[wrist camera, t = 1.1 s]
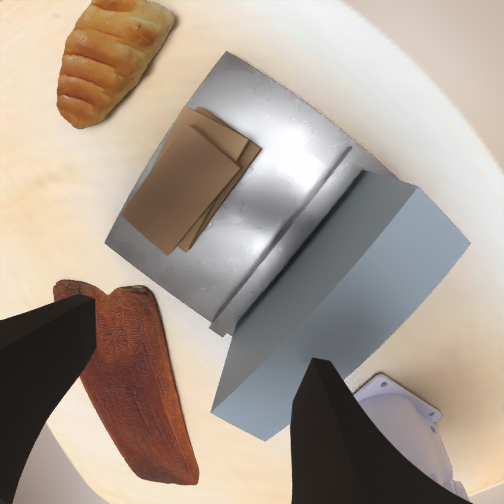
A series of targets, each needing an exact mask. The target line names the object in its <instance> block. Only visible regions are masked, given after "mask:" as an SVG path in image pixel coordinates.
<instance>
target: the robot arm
mask: <svg viewBox="0 0 504 504" xmlns="http://www.w3.org/2000/svg"><path fill="white" fill-rule="evenodd" d="M96 347H97V341H96V311H95V299H94V298H92V297H89V296H86V295H83V294H77V295H73V296H70V297H67V298H64V299H62V300H59V301H56V302H53V303H51V304H48V305H45V306H42V307H40V308H37V309H34V310H31V311H29V312H25V313H22V314H19V315H16V316H13V317H10V318H7V319H4V320H0V504H12V503H13V499H14V495H15V492H16V489H17V486H18V482H19V479H20V477H21V474H22V471H23V469H24V466H25V464H26V461H27V459H28V457H29V454H30V452H31V450H32V448H33V446H34V444H35V441H36V439H37V438H38V436H39V434H40V432H41V430H42V428H43V426H44V424H45V422H46V421H47V419H48V418H49V416H50V415H51V413H52V412H53V410H54V409H55V407H56V406H57V405H58V403H59V402H60V401H61V399H62V398H63V397H64V395H65V394H66V393H67V391H68V390H69V389H70V388H71V386H72V385H73V384H74V382H75V381H76V380H77V378H78V377H79V376H80V374H81V373H82V372H83V370H84V369H85V367H86V365H87V364H88V362H89V360H90V358H91V357H92V355H93V353H94V351H95V349H96ZM383 382H385V383H384V384H382V383H383ZM441 416H442V414H441V412H440V411H438V410H437V409H435V408H434V407H432V406H431V405H429V404H428V403H426V402H424V401H423V400H421V399H420V398H418V397H417V396H415V395H414V394H412V393H411V392H409V391H408V390H406V389H405V388H403V387H401V386H400V385H398V384H397V383H395V382H394V381H392V380H391V379H389V378H388V377H386V376H385V375H383V374H378V375H376V376H375V377H374V378H372V379H371V380H370V381H369V382H368V383H367V384H366V385H364V386H363V387H362V388H361V389H360V390H359V391H357V392H356V393H355V394H354V395H353V394H352V393H351V391H350V390H349V388H348V387H347V385H346V384H345V382H344V381H343V379H342V378H341V376H340V374H339V373H338V371H337V370H336V368H335V367H334V365H333V364H332V362H331V361H330V360H324V359H319V358H314V357H312V359H311V361H310V363H309V366H308V368H307V370H306V372H305V375H304V377H303V379H302V382H301V384H300V386H299V388H298V390H297V393H296V395H295V397H294V399H293V402H292V412H291V424H290V436H291V460H292V503H291V504H473V503H471V502H470V501H469V498H468V496H467V493H466V491H465V489H464V486H463V484H462V483H461V482H459V481H454V480H453V479H452V477H453V470H452V466H451V463H450V460H449V458H448V455H447V452H446V450H445V447H444V445H443V442H442V440H441V437H440V435H439V432H438V430H437V428H436V425H435V422H437V421H438V420H439V419H440V418H441Z"/></svg>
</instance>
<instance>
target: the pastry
mask: <svg viewBox="0 0 504 504" xmlns="http://www.w3.org/2000/svg"><path fill="white" fill-rule="evenodd" d="M174 21H175V17H174V14H173V13H172V12H171V11H169V10H168V9H166V8H165V7H163V6H161V5H159V4H157V3H152V2H150V1H147V0H92V2H91V4H90V5H89V7H88V8H87V9H86V10H85V11H84V12H83V14H82V15H81V17H80V18H79V19H78V21H77V22H76V25H75V28H74V30H73V31H72V32H71V34H70V35H69V36H68V38H67V40H66V43H65V50H64V54H63V58H62V67H61V70H60V74H59V75H60V76H59V79H58V88H57V107H58V110H59V112H60V114H61V115H62V116H63V117H64V118H65V119H66V120H67V121H68V122H69V123H71V124H72V126H73V127H75V128H77V129H84V128H87V127H89V126H92V125H94V124H97V123H100V122H102V121H103V120H104V119H105V117H106V116H107V115H108V113H109V112H110V111H111V110H112V109H113V108H114V106H115V105H116V104H117V103H118V102H120V101H121V100H122V99H123V97H124V96H125V95H126V94H127V93H128V92H129V91H130V90H131V89H133V88H134V87H135V86H136V85H138V83H139V82H140V79H141V76H142V74H143V72H144V71H145V70H146V69H147V67H148V65H149V64H150V62H151V61H152V59H153V58H154V57H155V56H156V54H157V53H158V51H159V50H160V48H161V46H162V45H163V43H164V41H165V40H166V38H167V36H168V34H169V31H170V30H171V29H172V26H173V24H174Z"/></svg>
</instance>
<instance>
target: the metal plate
mask: <svg viewBox="0 0 504 504" xmlns="http://www.w3.org/2000/svg"><path fill="white" fill-rule="evenodd" d="M198 106H199V107H201V108H203V109H205V110H206V111H208V112H210V113H211V114H213V115H214V116H216V117H217V118H219V119H220V120H222V121H223V122H225V123H226V124H227V125H229V126H230V127H232V128H233V129H235V130H236V131H238V132H239V133H241V134H242V135H243V136H245V137H246V138H248V139H250V140H251V141H252V142H253V143H255V144H256V145H258V146H259V147H260V148H262V150H261V151H260V153H259V154H258V155H257V157H256V158H255V159H254V161H253V162H252V163H251V165H250V166H249V168H248V169H247V170H246V172H245V173H244V174H243V176H242V177H241V178H240V180H239V181H238V183H237V184H236V185H235V187H234V188H233V189H232V191H231V192H230V194H229V195H228V196H227V198H226V199H225V201H224V202H223V203H222V205H221V206H220V208H219V209H218V210H217V212H216V213H215V215H214V216H213V218H212V219H211V220H210V222H209V223H208V225H207V226H206V228H205V229H204V230H203V232H202V233H201V235H200V236H199V238H198V239H197V241H196V242H195V243H194V245H193V246H192V248H191V249H190V250H189V251H188V252H187V253H185V252H184V251H182V250H181V249H180V248H178V247H176V248H175V250H174V251H173V252H172V253H171V254H169V255H168V256H166V255H165V254H164V253H163V252H162V251H160V250H159V249H158V248H157V247H156V246H155V245H154V244H152V243H151V242H150V241H149V240H148V239H147V238H146V237H145V236H143V235H142V234H141V233H140V232H139V231H138V230H137V229H136V228H135V227H133V226H132V225H131V224H130V223H129V222H128V221H127V220H126V219H125V218H124V217H122V216H121V214H122V212H123V211H124V209H125V208H126V206H127V205H128V203H129V202H130V200H131V199H132V198H133V196H134V195H135V193H136V192H137V190H138V189H139V187H140V186H141V185H142V183H143V182H144V180H145V179H146V178H147V176H148V175H149V173H150V171H151V169H152V167H153V165H154V163H155V161H156V159H157V157H158V155H159V153H160V151H161V149H162V147H163V145H164V143H165V141H166V139H167V137H168V135H169V133H170V131H171V130H172V128H173V126H174V124H175V122H176V120H177V119H176V120H175V122H174V123H173V125H172V126H171V128H170V129H169V131H168V132H167V134H166V135H165V137H164V139H163V140H162V142H161V143H160V145H159V146H158V148H157V150H156V151H155V153H154V154H153V156H152V158H151V159H150V161H149V163H148V164H147V166H146V168H145V169H144V171H143V173H142V174H141V176H140V178H139V180H138V181H137V183H136V185H135V186H134V188H133V190H132V192H131V194H130V195H129V197H128V199H127V201H126V203H125V204H124V206H123V208H122V210H121V212H120V214H119V215H118V217H117V219H116V221H115V223H114V225H113V227H112V229H111V231H110V233H109V235H108V237H107V239H106V241H105V244H106V245H108V246H109V247H110V248H111V249H113V250H114V251H115V252H116V253H118V254H119V255H120V256H121V257H123V258H124V259H125V260H127V261H128V262H129V263H130V264H132V265H133V266H134V267H136V268H137V269H138V270H140V271H141V272H142V273H144V274H145V275H146V276H148V277H149V278H150V279H152V280H153V281H154V282H156V283H157V284H158V285H160V286H161V287H162V288H164V289H165V290H166V291H168V292H169V293H171V294H172V295H173V296H175V297H176V298H178V299H179V300H180V301H182V302H183V303H185V304H186V305H187V306H189V307H190V308H192V309H193V310H194V311H196V312H197V313H199V314H200V315H202V316H203V317H205V318H206V319H207V320H209V321H210V322H211V325H210V327H209V328H210V329H211V330H213V331H214V332H216V333H217V334H219V335H220V336H222V337H224V335H225V334H226V333H228V334H230V335H231V336H233V334H234V330H235V327H236V323H237V322H238V321H239V320H240V319H241V317H242V316H243V315H244V314H245V313H246V312H247V310H248V309H249V308H250V307H251V306H252V305H253V303H254V302H255V301H256V300H257V299H258V297H259V296H260V295H261V294H262V293H263V292H264V290H265V289H266V288H267V287H268V286H269V284H270V283H271V282H272V281H273V280H274V278H275V277H276V276H277V275H278V274H279V273H280V271H281V270H282V269H283V268H284V267H285V265H286V264H287V263H288V262H289V260H290V259H291V258H292V257H293V256H294V254H295V253H296V252H297V251H298V250H299V248H300V247H301V246H302V245H303V243H304V242H305V241H306V240H307V239H308V237H309V236H310V235H311V234H312V232H313V231H314V230H315V229H316V228H317V226H318V225H319V224H320V223H321V221H322V220H323V219H324V218H325V216H326V215H327V214H328V213H329V211H330V210H331V209H332V208H333V206H334V205H335V204H336V203H337V201H338V200H339V199H340V198H341V196H342V195H343V194H344V193H345V191H346V190H347V189H348V188H349V186H350V185H351V184H352V182H353V181H354V180H355V179H356V177H357V176H358V175H359V174H360V172H361V171H362V170H365V171H369V172H372V173H376V174H379V175H383V176H386V177H389V178H393V179H396V180H399V179H398V178H397V177H396V176H395V175H394V174H393V173H391V172H390V171H389V170H388V169H387V168H386V167H385V166H384V165H383V164H381V163H380V162H379V161H378V160H377V159H376V158H375V157H373V156H372V155H371V154H370V153H369V152H368V151H367V150H365V149H364V148H363V147H362V146H361V145H359V144H358V143H357V142H356V141H355V140H353V139H352V138H351V137H350V136H349V135H347V134H346V133H345V132H344V131H342V130H341V129H340V128H339V127H337V126H336V125H335V124H333V123H332V122H331V121H330V120H328V119H327V118H326V117H324V116H323V115H322V114H320V113H319V112H318V111H316V110H315V109H314V108H312V107H311V106H310V105H308V104H307V103H306V102H304V101H303V100H301V99H300V98H299V97H297V96H296V95H294V94H293V93H291V92H290V91H289V90H287V89H286V88H284V87H283V86H281V85H280V84H278V83H277V82H275V81H274V80H272V79H271V78H269V77H268V76H266V75H265V74H263V73H262V72H260V71H258V70H257V69H255V68H254V67H252V66H251V65H249V64H247V63H246V62H244V61H242V60H241V59H239V58H237V57H236V56H234V55H232V54H231V53H229V52H227V51H226V52H225V53H224V55H223V56H222V57H221V58H220V60H219V61H218V62H217V63H216V65H215V66H214V67H213V69H212V70H211V71H210V73H209V74H208V75H207V77H206V78H205V79H204V81H203V82H202V83H201V85H200V86H199V87H198V89H197V90H196V92H195V93H194V94H193V96H192V97H191V99H190V100H189V101H188V103H187V104H186V107H189V108H191V109H193V110H196V108H197V107H198ZM179 115H180V114H179ZM177 118H178V117H177ZM399 181H400V180H399Z"/></svg>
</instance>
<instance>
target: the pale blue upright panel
mask: <svg viewBox="0 0 504 504" xmlns="http://www.w3.org/2000/svg"><path fill="white" fill-rule="evenodd" d="M470 244H471V243H470V242H469V241H468V240H467V238H466V237H465V236H464V235H463V234H462V233H461V231H460V230H459V229H458V228H457V227H456V226H455V225H454V224H453V222H452V221H451V220H450V219H449V218H448V217H447V216H446V215H445V214H444V213H443V212H442V210H441V209H440V208H439V207H438V206H437V205H436V204H435V203H434V202H433V201H432V200H431V199H430V198H429V197H428V196H427V195H426V194H425V193H424V192H423V191H422V190H421V189H420V188H419V187H418V186H415V185H412V184H409V183H406V182H402V181H399V180H396V179H393V178H389V177H386V176H383V175H379V174H376V173H372V172H369V171H365V170H362V171H361V172H360V174H359V175H358V176H357V177H356V179H355V180H354V181H353V182H352V184H351V185H350V186H349V188H348V189H347V190H346V191H345V193H344V194H343V195H342V196H341V198H340V199H339V200H338V201H337V203H336V204H335V205H334V206H333V208H332V209H331V210H330V211H329V213H328V214H327V215H326V216H325V218H324V219H323V220H322V221H321V223H320V224H319V225H318V226H317V228H316V229H315V230H314V231H313V232H312V234H311V235H310V236H309V237H308V239H307V240H306V241H305V242H304V243H303V245H302V246H301V247H300V248H299V250H298V251H297V252H296V253H295V254H294V256H293V257H292V258H291V259H290V260H289V262H288V263H287V264H286V265H285V267H284V268H283V269H282V270H281V271H280V273H279V274H278V275H277V276H276V277H275V278H274V280H273V281H272V282H271V283H270V284H269V286H268V287H267V288H266V289H265V290H264V292H263V293H262V294H261V295H260V296H259V297H258V299H257V300H256V301H255V302H254V303H253V305H252V306H251V307H250V308H249V309H248V310H247V312H246V313H245V314H244V315H243V316H242V317H241V319H240V320H239V321H238V322H237V323H236V327H235V330H234V334H233V337H232V340H231V344H230V347H229V351H228V354H227V358H226V361H225V365H224V368H223V371H222V375H221V378H220V382H219V385H218V389H217V392H216V395H215V399H214V402H213V406H212V409H211V413H212V414H214V415H216V416H217V417H219V418H221V419H223V420H225V421H226V422H228V423H230V424H232V425H234V426H236V427H238V428H240V429H242V430H243V431H245V432H247V433H249V434H251V435H253V436H255V437H257V438H259V439H261V440H263V441H267V440H268V439H270V438H271V437H272V436H274V435H275V434H276V433H278V432H279V431H281V430H282V429H283V428H285V427H286V426H287V425H289V424H290V423H291V412H292V402H293V399H294V397H295V395H296V393H297V390H298V388H299V386H300V384H301V382H302V379H303V377H304V375H305V372H306V370H307V368H308V366H309V363H310V361H311V359H312V357H314V358H319V359H324V360H330V361H331V362H332V364H333V365H334V367H335V368H336V370H337V371H338V373H339V374H340V376H341V378H342V379H343V380H344V379H345V378H346V377H347V376H349V375H350V374H351V373H352V372H353V371H354V370H355V369H356V368H357V367H359V366H360V365H361V364H362V363H363V362H364V361H365V360H366V359H367V358H368V357H369V356H370V355H371V354H372V353H373V352H375V351H376V350H377V349H378V348H379V347H380V346H381V345H382V344H383V343H384V342H385V341H386V340H387V339H388V338H389V337H390V336H391V335H392V334H393V333H394V332H395V331H396V330H397V329H398V328H399V327H400V326H401V325H402V324H403V322H404V321H405V320H406V319H407V318H408V317H409V316H410V315H411V314H412V313H413V312H414V311H415V310H416V309H417V307H418V306H419V305H420V304H421V303H422V302H423V301H424V300H425V299H426V297H427V296H428V295H429V294H430V293H431V292H432V291H433V290H434V288H435V287H436V286H437V285H438V284H439V283H440V281H441V280H442V279H443V278H444V277H445V275H446V274H447V273H448V272H449V271H450V269H451V268H452V267H453V266H454V264H455V263H456V262H457V261H458V259H459V258H460V257H461V256H462V254H463V253H464V252H465V250H466V249H467V248H468V246H469V245H470Z"/></svg>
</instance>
